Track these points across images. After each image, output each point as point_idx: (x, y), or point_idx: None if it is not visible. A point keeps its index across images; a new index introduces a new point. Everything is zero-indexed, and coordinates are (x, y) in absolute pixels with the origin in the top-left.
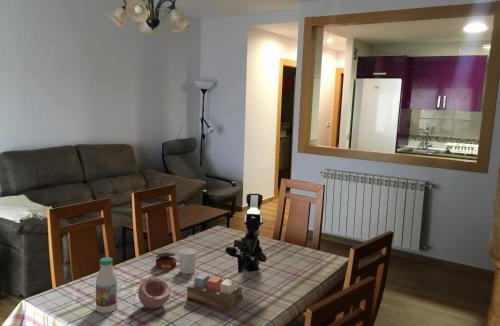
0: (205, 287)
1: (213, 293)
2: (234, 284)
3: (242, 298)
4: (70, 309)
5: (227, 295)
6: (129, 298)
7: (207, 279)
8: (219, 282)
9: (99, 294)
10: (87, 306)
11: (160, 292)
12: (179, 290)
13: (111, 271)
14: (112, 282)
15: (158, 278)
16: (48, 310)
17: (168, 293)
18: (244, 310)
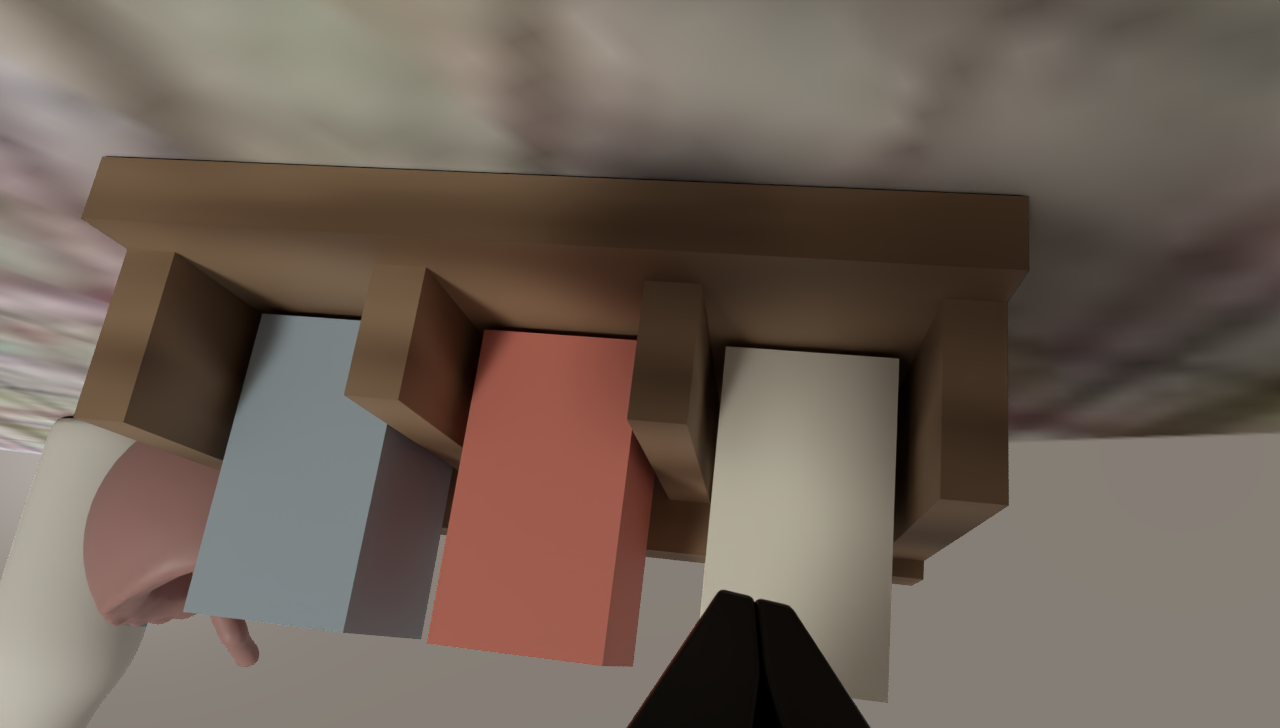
0: (423, 470)
1: (674, 559)
2: (886, 640)
3: (1021, 222)
4: (43, 441)
5: None
6: (20, 381)
7: (380, 573)
8: (622, 617)
9: None
10: (41, 429)
11: None
12: (17, 259)
13: (83, 713)
14: (133, 644)
15: (118, 604)
16: (10, 447)
17: None
18: (1123, 359)
